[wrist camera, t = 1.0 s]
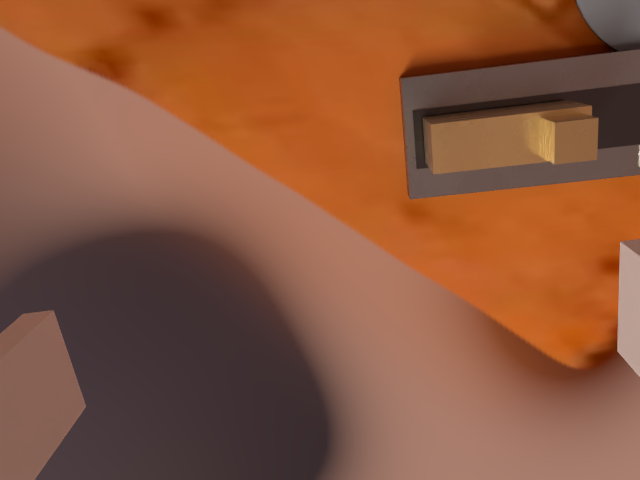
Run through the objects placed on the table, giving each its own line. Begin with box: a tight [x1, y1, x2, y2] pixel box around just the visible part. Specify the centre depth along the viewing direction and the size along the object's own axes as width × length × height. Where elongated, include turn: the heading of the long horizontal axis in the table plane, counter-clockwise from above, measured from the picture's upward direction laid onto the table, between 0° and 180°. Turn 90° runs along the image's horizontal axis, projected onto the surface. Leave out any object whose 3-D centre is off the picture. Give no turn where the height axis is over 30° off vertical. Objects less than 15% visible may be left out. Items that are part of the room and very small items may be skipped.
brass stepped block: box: [423, 100, 599, 174], centre depth 30 cm, size 3×8×5 cm, turn 97°
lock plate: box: [399, 48, 640, 199], centre depth 33 cm, size 7×15×1 cm, turn 97°
